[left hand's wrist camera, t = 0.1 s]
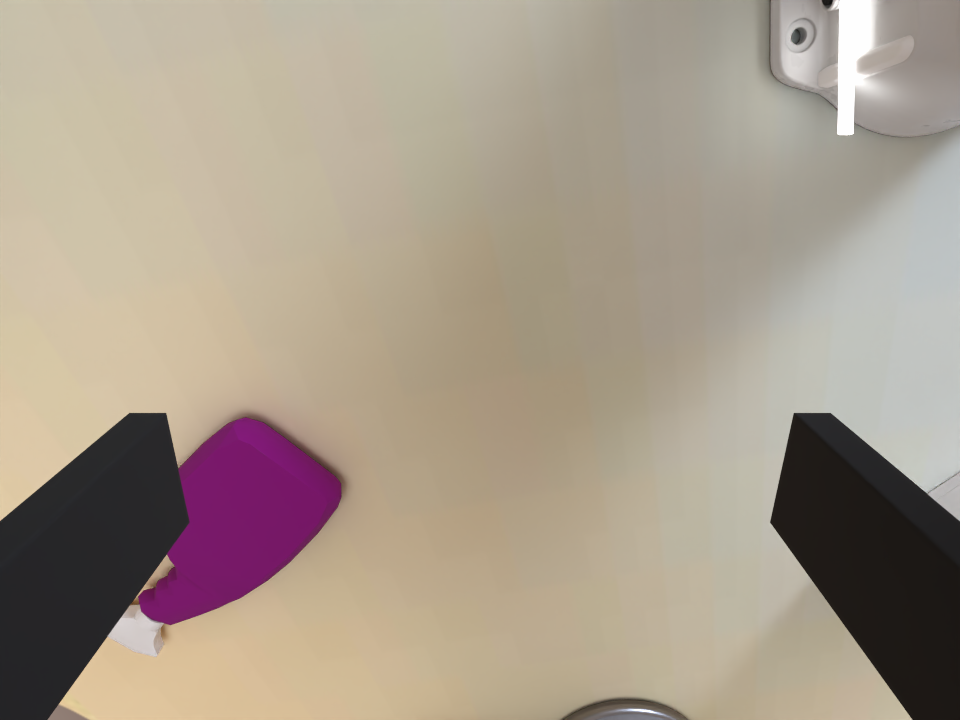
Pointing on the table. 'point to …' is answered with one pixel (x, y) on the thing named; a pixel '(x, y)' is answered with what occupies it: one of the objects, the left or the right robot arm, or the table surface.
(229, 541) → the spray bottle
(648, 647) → the table surface
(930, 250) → the table surface
